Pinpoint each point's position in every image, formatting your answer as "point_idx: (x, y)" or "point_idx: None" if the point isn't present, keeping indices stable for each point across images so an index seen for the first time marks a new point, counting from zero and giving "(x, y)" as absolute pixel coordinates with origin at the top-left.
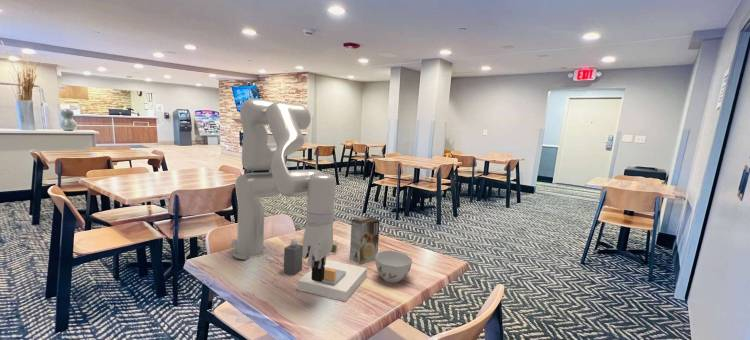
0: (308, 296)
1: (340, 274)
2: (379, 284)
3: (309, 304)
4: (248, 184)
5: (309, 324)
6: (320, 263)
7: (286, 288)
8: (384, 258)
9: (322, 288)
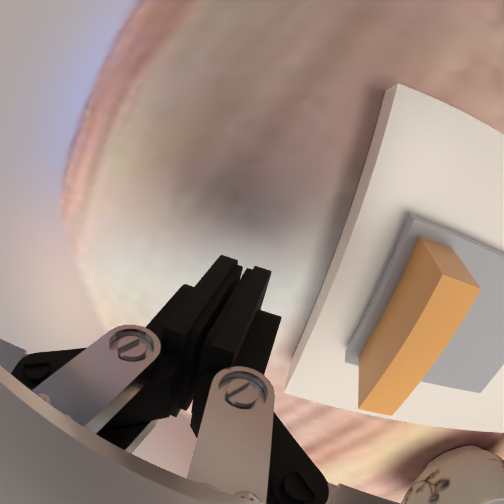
0: (316, 176)
1: (449, 377)
2: (429, 441)
3: (232, 201)
4: None
5: (102, 237)
6: (108, 440)
7: (385, 22)
8: None
9: (333, 274)
